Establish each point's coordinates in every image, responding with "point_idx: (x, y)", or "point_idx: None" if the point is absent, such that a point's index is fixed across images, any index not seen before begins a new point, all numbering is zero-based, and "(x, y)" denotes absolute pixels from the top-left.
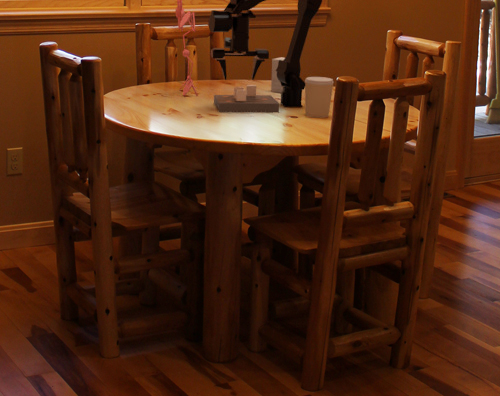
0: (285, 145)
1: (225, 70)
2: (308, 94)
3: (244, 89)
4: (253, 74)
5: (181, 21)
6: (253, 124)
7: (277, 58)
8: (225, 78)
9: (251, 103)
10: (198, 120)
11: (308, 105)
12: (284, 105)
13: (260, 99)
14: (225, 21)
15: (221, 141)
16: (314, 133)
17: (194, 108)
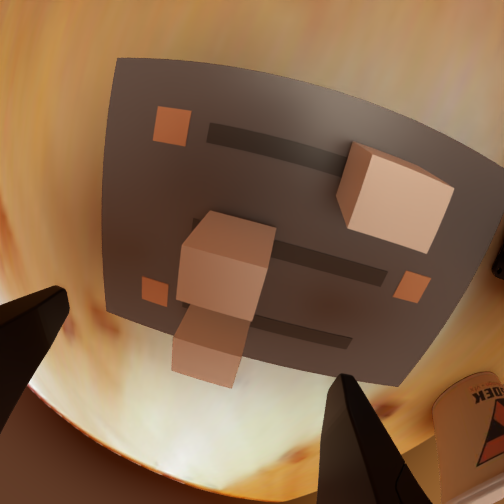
0: (218, 492)
1: (17, 388)
2: (441, 470)
3: (234, 361)
4: (323, 453)
5: None
6: (208, 433)
7: None
8: (58, 320)
9: (265, 361)
10: (70, 354)
11: (437, 437)
12: (494, 271)
13: (381, 288)
14: None
15: (125, 456)
16: (308, 485)
17: (46, 186)
